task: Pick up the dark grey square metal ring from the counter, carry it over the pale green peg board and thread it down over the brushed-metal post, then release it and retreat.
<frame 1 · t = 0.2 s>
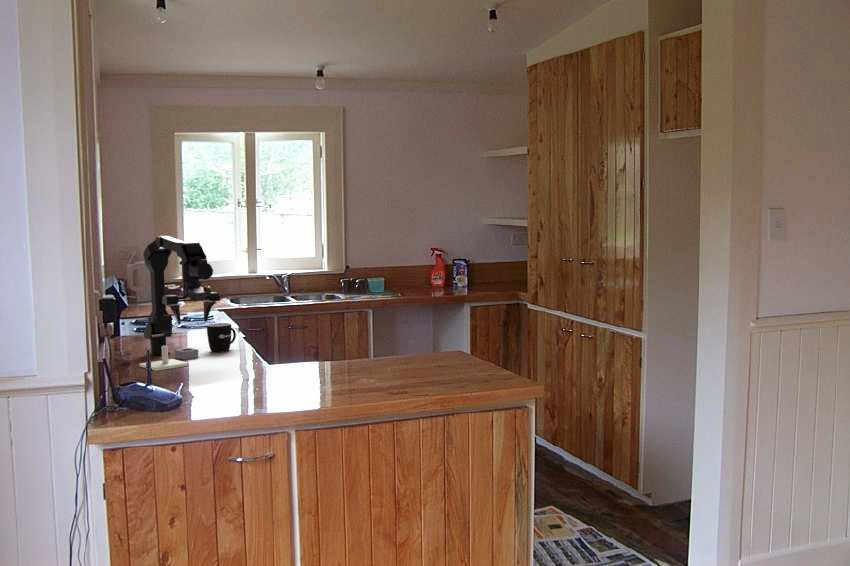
hand: (192, 323, 284), 14 cm above the counter, fingers open, 9 cm apart
mug: (223, 351, 309), on the counter
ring: (186, 358, 295), on the counter
peg board: (164, 366, 280), on the counter
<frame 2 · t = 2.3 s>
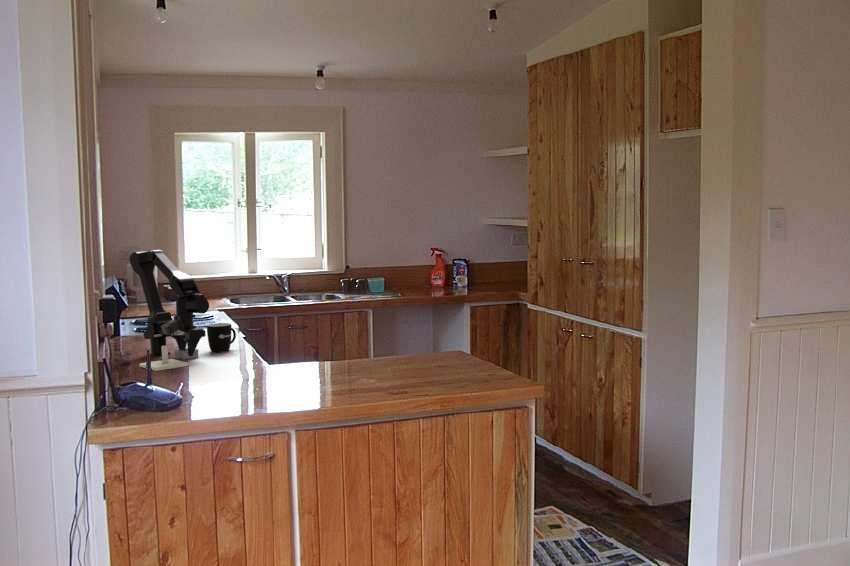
hand: (186, 355, 295), 1 cm above the counter, fingers closed on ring, 6 cm apart
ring: (186, 358, 295), on the counter, touching gripper
everything else where it was.
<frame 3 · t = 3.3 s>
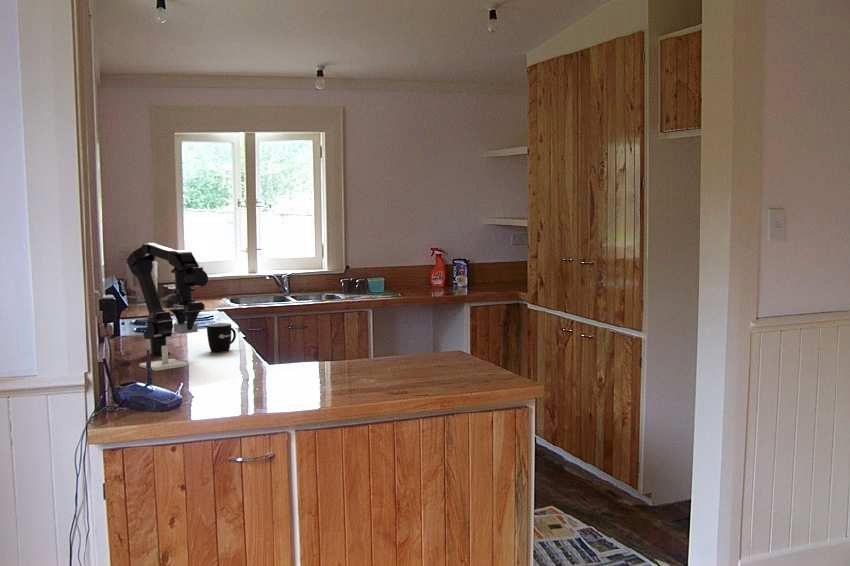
hand: (185, 329, 294), 10 cm above the counter, fingers closed on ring, 6 cm apart
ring: (185, 332, 294), point 9 cm above the counter, touching gripper
everything else where it was.
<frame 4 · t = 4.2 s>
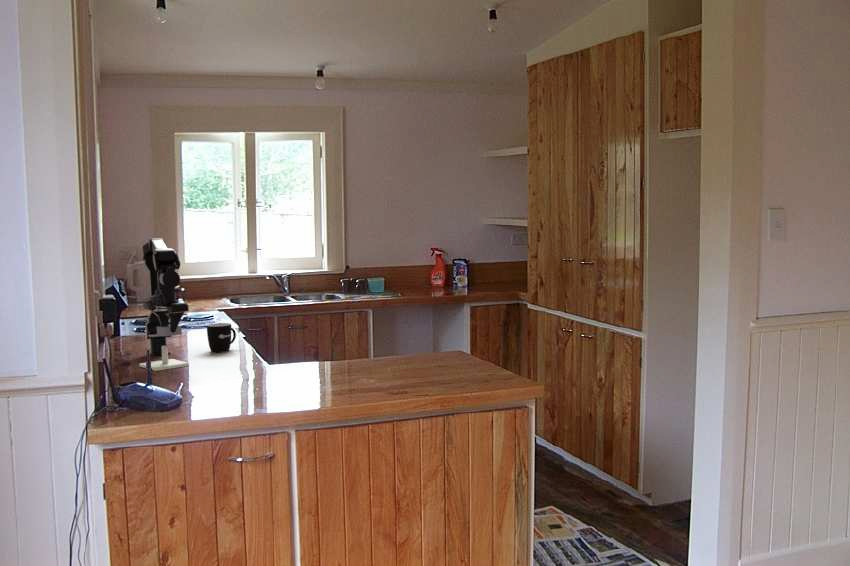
hand: (168, 331, 281), 11 cm above the counter, fingers closed on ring, 6 cm apart
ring: (169, 334, 281), point 10 cm above the counter, touching gripper
everything else where it was.
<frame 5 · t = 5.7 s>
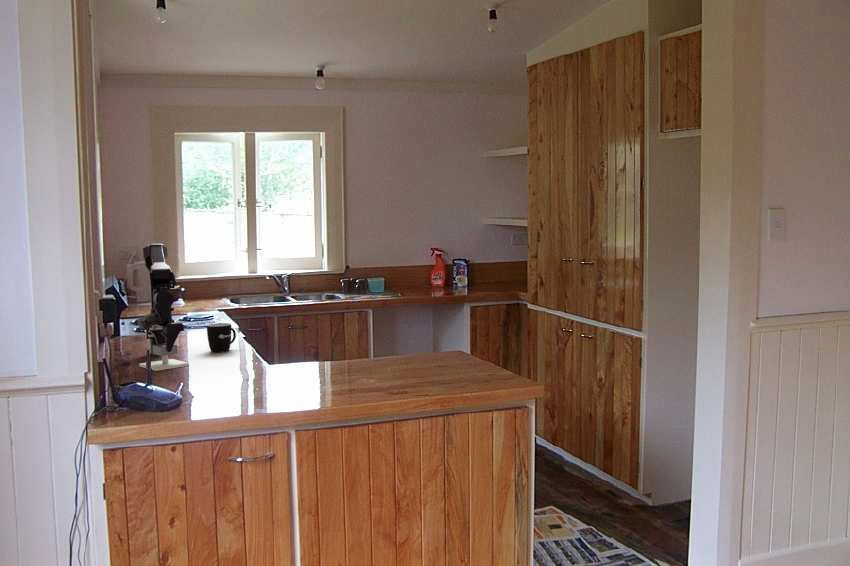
hand: (164, 350, 278), 5 cm above the counter, fingers closed on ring, 6 cm apart
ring: (165, 353, 279), point 4 cm above the counter, touching gripper
everything else where it was.
when the fingers open (3 cm above the counter, at t = 6.5 s): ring drops 1 cm, resting on peg board.
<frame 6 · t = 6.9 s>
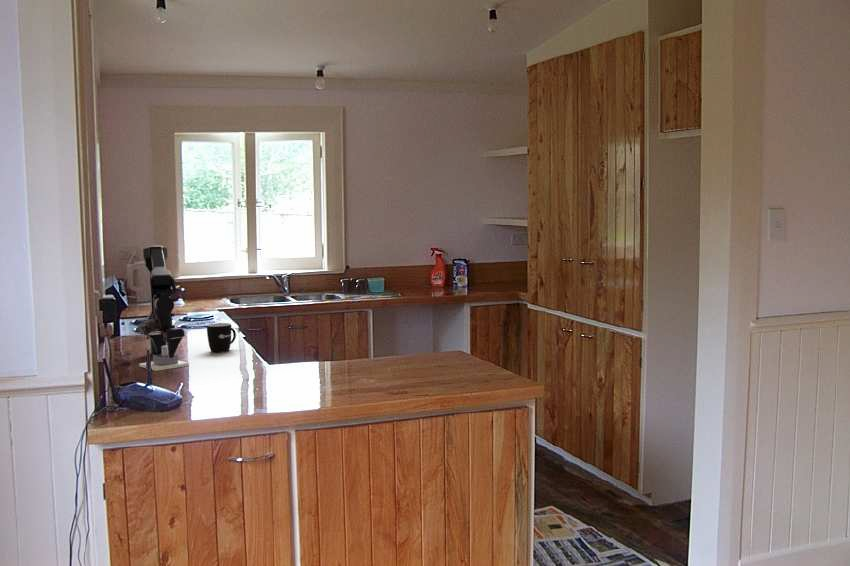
hand: (165, 356, 279), 3 cm above the counter, fingers open, 9 cm apart
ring: (165, 363, 279), point 1 cm above the counter, touching peg board
everything else where it was.
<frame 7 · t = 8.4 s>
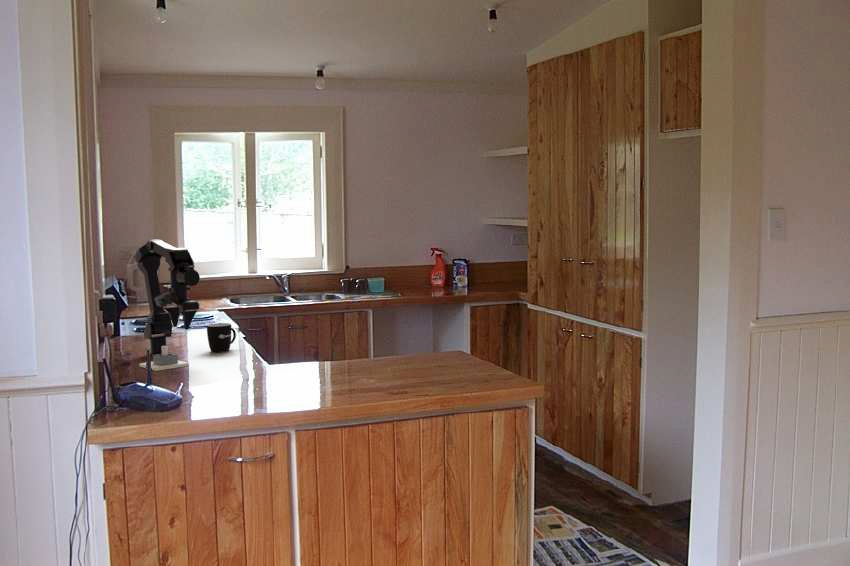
hand: (180, 328, 289), 11 cm above the counter, fingers open, 9 cm apart
nothing on the counter moved.
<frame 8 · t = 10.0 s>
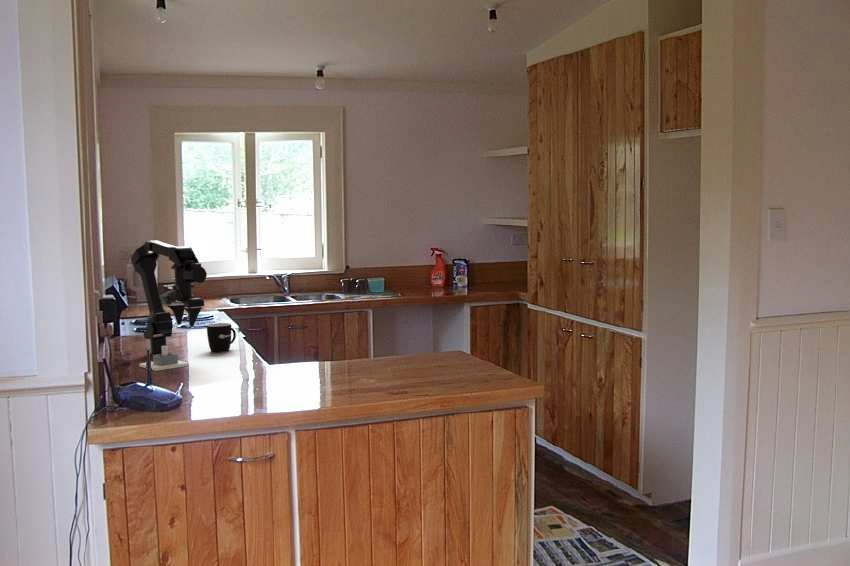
hand: (185, 325, 292), 12 cm above the counter, fingers open, 9 cm apart
nothing on the counter moved.
at the end: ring 0.1 cm from the target spot on the peg board, point 1.0 cm above the peg board's base; the gripper is holding nothing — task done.
